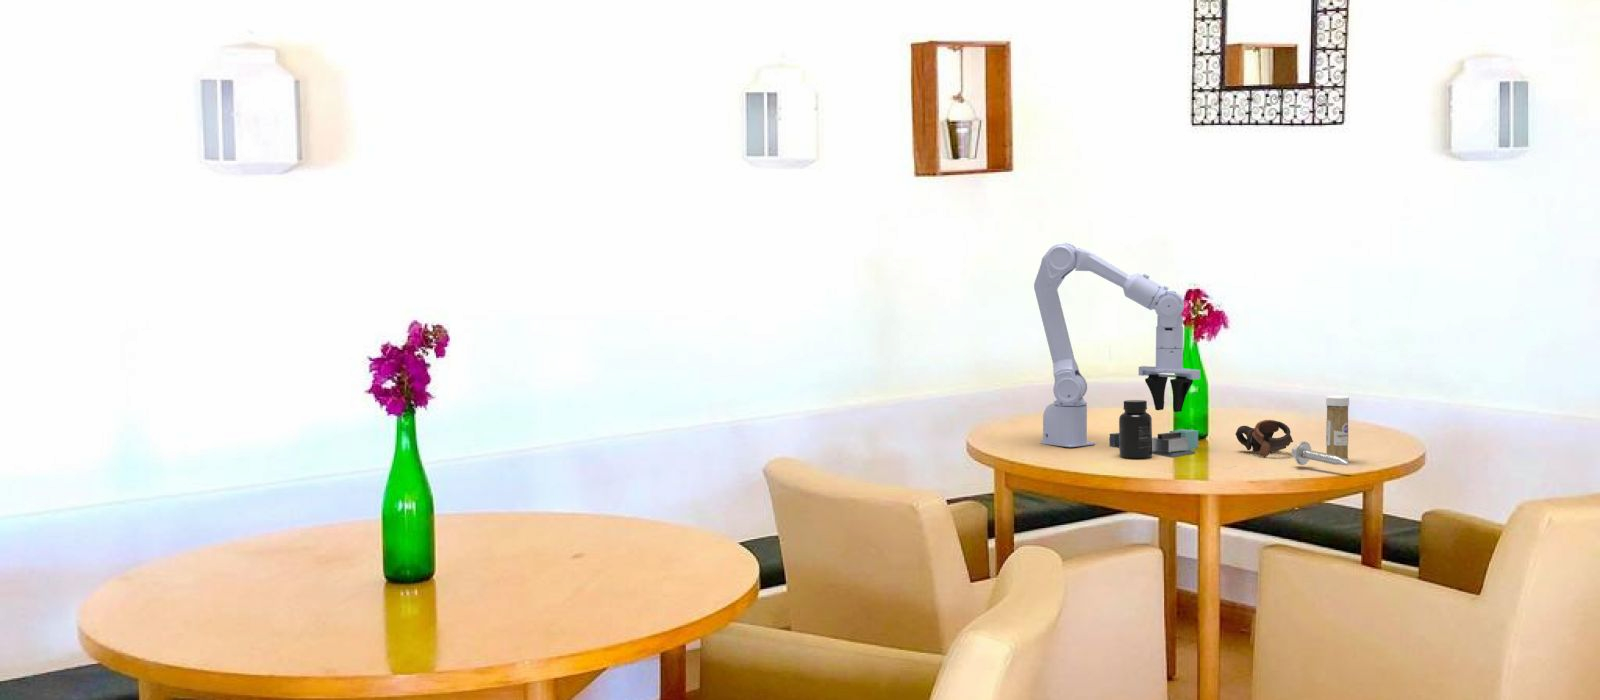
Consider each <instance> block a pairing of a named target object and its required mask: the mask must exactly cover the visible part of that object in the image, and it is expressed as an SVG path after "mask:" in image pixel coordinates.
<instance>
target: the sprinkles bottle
mask: <svg viewBox="0 0 1600 700" xmlns="http://www.w3.org/2000/svg"><path fill="white" fill-rule="evenodd" d="M1325 400H1326V401H1325V405H1326V420H1325V421H1326V422H1325V424H1326V429H1325V431H1326V434H1325V435H1326V436H1325V437H1326V439H1325V440H1326V441H1325V443H1326V444H1325V445H1326V452H1325V453H1326V454H1331V455H1336V456H1338V457H1339V458H1344V459H1348V460H1349V457H1348V455H1349V454H1348V453H1349V406H1350V397H1349V396H1347V395H1336V394H1335V395H1327V396H1326V399H1325Z"/></svg>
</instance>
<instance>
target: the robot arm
mask: <svg viewBox="0 0 1600 700" xmlns="http://www.w3.org/2000/svg"><path fill="white" fill-rule="evenodd" d="M1074 270H1075V271H1076V272H1091V273H1093V274H1095V275H1097V276H1099V277H1100V278H1103V279H1105V280H1106V281H1108V282H1111V283H1113V284H1115V285H1116V286H1118V287H1120V288H1122V289H1123V294H1124V296H1125V297H1126V298H1127V299H1129V300H1132V301H1133V302H1135V303H1137V304H1139V305H1140V306H1142V307H1144V308H1146V309H1148V310H1150V311H1153V310H1154V311H1155V313H1156V315H1157V317H1156V319H1157V323H1156V327H1155V329H1156V330H1155V366H1147V365H1141V366H1138V376H1147V378H1145V379H1144V381H1145V384H1146V385H1147V387H1148V389H1149V391H1150V394H1151V397H1152V401H1153V404H1154V409H1155V411H1163V410H1164V408H1165V392H1166V386H1167V382H1168V379H1169V378H1171V379H1170V380H1169V381H1170V385H1171V391H1172V409H1173V412H1174V413H1179V412H1183V411H1182V410H1183V406H1184V402H1185V399H1186V396H1187V394H1188V391H1189V389H1191V387H1192V385H1193V383H1194V380H1201V369H1195V368H1194V369H1193V368H1184V365H1183V364H1184V363H1183V362H1184V360H1183V359H1184V356H1183V355H1184V354H1183V353H1184V326H1183V322H1184V319H1183V318H1184V317H1183V315H1182V313H1183V311H1184V308H1185V301H1184V299H1183V297H1182V296H1181V295H1180V294H1179V293H1177V292H1176V291H1174V290H1169V288H1170V287H1169V286H1167V285H1164V286H1163V285H1161V284H1159V283H1157V282H1155V281H1153V280H1151V279H1150V275H1149V274H1147V273H1143V274H1141V273H1139V272H1138V273H1133V274H1129V273H1127V272H1125V271H1123V270H1121V269H1120V268H1118V267H1117V266H1115V265H1113V264H1111V263H1109V262H1108V261H1106V260H1104V259H1103V258H1101V257H1099V256H1098V255H1096V254H1094V253H1092V252H1090V251H1089V250H1088V251H1087V250H1086V249H1082V248H1080V247H1077V246H1074V244H1071V243H1067V242H1065V243H1064V242H1063V243H1058V244H1054V245H1052V246H1051V247H1050V248H1049V249H1048V250H1047V252H1045V254H1044V255H1043V256H1042V259H1041V262H1040V265H1039V269H1038V271H1037V274H1036V278H1035V279H1034V284H1033V288H1034V293H1035V297H1036V301H1037V305H1038V309H1039V313H1040V317H1041V322H1042V324H1043V328H1044V333H1045V337H1046V341H1047V345H1048V349H1049V352H1050V356H1051V357H1050V359H1051V361H1052V368H1053V371H1052V372H1053V377H1054V384H1053V389H1052V391H1053V395H1054V397H1055V399H1056V400H1054V401H1053V403H1049V405H1047V406H1046V407H1045V409H1044V411H1043V416H1042V441H1041V440H1040V444H1042V445H1048V446H1049V445H1050V446H1056V447H1064V448H1075V447H1086V446H1094V445H1096V442H1094V441H1088V436H1087V435H1088V422H1087V421H1088V405H1087V404H1088V403H1087V401H1086V400H1085V399H1084V396H1085V395H1086V393H1087V391H1088V383H1087V381H1086V379H1085V377H1084V376H1083V375H1082V373H1081V372H1080V369H1079V365H1078V363H1077V361H1076V358H1075V355H1074V352H1073V348H1072V344H1071V343H1072V342H1071V339H1070V336H1069V332H1068V331H1069V330H1068V328H1067V324H1066V320H1065V316H1064V310H1063V308H1062V303H1061V298H1060V296H1059V292H1058V289H1059V287H1060V286H1061V284H1062V282H1064V280H1065V278H1066V276H1067V277H1068V275H1069V274H1070V273H1072V272H1073V271H1074ZM1168 290H1169V291H1168Z"/></svg>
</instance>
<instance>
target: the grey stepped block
mask: <svg viewBox="0 0 1600 700" xmlns="http://www.w3.org/2000/svg"><path fill="white" fill-rule="evenodd" d="M1152 450H1155V451H1162V452H1175V451H1183V450H1188V438H1185V437H1181V432H1171V433H1170V432H1166V433H1165V432H1163V433H1162V432H1161V433H1158V434H1157V436H1156V437H1152ZM1188 451H1189V450H1188Z"/></svg>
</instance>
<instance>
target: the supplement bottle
mask: <svg viewBox="0 0 1600 700" xmlns="http://www.w3.org/2000/svg"><path fill="white" fill-rule="evenodd" d="M1147 403H1148V402H1147V400H1143V399H1129V400H1128V399H1127V400H1124V401H1123V407H1122V408H1123V409H1122V410H1123V411H1124V412H1123V413H1121V414H1120V416H1119V418H1118V433H1119V448H1118V449H1119V456H1120V458H1123V459H1128V460H1129V459H1130V460H1143V459H1150V458H1152V456H1153V454H1152V438H1153V421H1152V420H1153V419H1152V416H1151V415H1150V414H1149V413H1148V412H1147V410H1148V407H1147V406H1148V405H1147Z"/></svg>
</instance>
